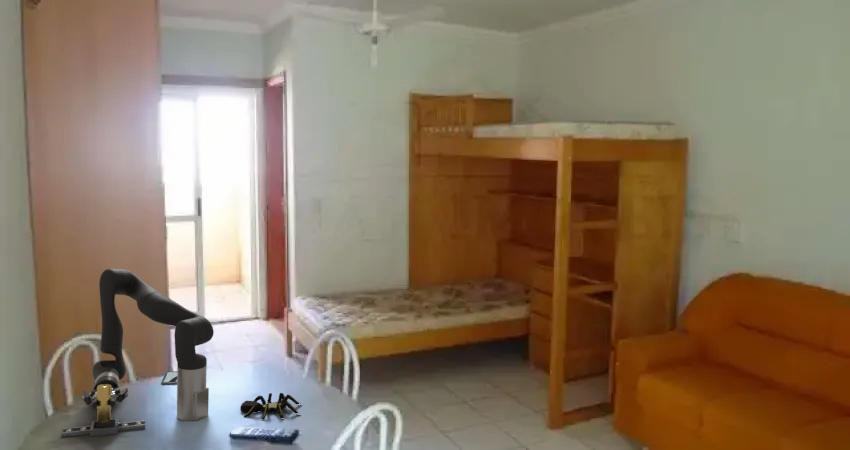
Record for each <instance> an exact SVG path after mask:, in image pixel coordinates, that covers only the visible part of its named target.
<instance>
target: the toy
mask: <svg viewBox="0 0 850 450" xmlns="http://www.w3.org/2000/svg"><path fill="white" fill-rule="evenodd" d="M284 394H285V393H283V392H280V393H279V395H278V400H277V402H272V396H273V394H272V393H270V392H269V393H268V397H267V400H266V399H265V398H264V396H263V395H258V396H257V397H255V399H253V400H244V402H242V403H241V405H240V409H239V410H240V411H241V412H242V413H244V414H245V415H244V416H243V418H248V417H250V415H252V414H254V413H253V412H256V413H259V412H258V411H261V413H263V415H262V417H261V420H262V419H264V420H265V418H266V417H267V414H275V413H277V412H278V415H279V418H280V419H281V418H284V419H285V416H284V414H283V413H284V412H283V410H285V408H286V407H287V408H288V409H289V410H291V411H292V412H293V413H294V414H295V413H299V412H298V410H297V409H296V407H294V406H293V405H292V404H291V403H290V402H289V401H288V400H290V401H292V402H293V403H294V404H295V405H297V404H299V403H300V402H299V401H298V400H296V399H295V398H294V397H293V396H292V395H291V394H286V395H284ZM258 401H261V403H260V402H258ZM267 401H268V402H267ZM272 412H273V413H272ZM247 416H248V417H247Z"/></svg>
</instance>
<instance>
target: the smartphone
mask: <svg viewBox="0 0 850 450" xmlns="http://www.w3.org/2000/svg"><path fill="white" fill-rule="evenodd" d="M160 385H163V386H167V385H169V386H170V385H177V370H176V371H175V370H174V371H166V372H165V373H164V376H163V378H162V380H161V382H160Z"/></svg>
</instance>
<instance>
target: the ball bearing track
mask: <svg viewBox="0 0 850 450" xmlns="http://www.w3.org/2000/svg"><path fill="white" fill-rule="evenodd" d="M104 426H105V427H104ZM143 429H146V420H144V419H143V420H135V421H134V420H133V421H124V422H119V418H111V420H110V421H108V422H103V423H100V422H97V419H96V420H92V421H91V425H85V426H76V427H75V426H74V427H64V428H62V432H61V435H60V436H61V438H67V437H76V436H85V435H86V436H87V435H89V436H90V437H98V436H99V435H100V436H107V435H108V434H109V435H117V434H118V432H123V431H133V430H143ZM100 436H99V437H100Z"/></svg>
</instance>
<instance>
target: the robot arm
mask: <svg viewBox="0 0 850 450" xmlns="http://www.w3.org/2000/svg"><path fill="white" fill-rule="evenodd" d="M98 286H99V298H100V299H99V301H100V310H101V312H100V313H101V335H100V352H101V353H102V354H107V355H111V356H113V357H114V360H113V359H110V360H109V359H107V360H106V359H105V360H103V359H101V360H99V361H96V362H95V363H94V365H93V367H92V377H93V379H94V380H95V381H94V385H93V389H92V390H91V391H90V392H88V391H86V390H85V391H82V392H81V395H82V401H83V402H84V403H85V404H86V405H87V406H89V405H91V408H93V409H96V410H97V386H98V385H101V384H110V385H111V408H113V407H114V406H116V405H117V404H116V403H117V402H118V403H122V402H123V401H125V400H126V398H127V397H128V396H129V388H123V389H120V380H122V379H123V378H124V377H125V375H126V370H127V369H126V364H125V362H124V356H123V355H124V354H123V341H124V340H123V339H124V337H123V336H124V327H123V323H122V320H121V319H120V316H119V314H118V312H117V308H116V304H115V300H116V299H115V298H116V295H118V296H127V297H129V298H131V299H133V300H134V301H136V306H137V309H138V310H139V312H140V313H141V314H143V315H144V316H146V317H147V318H148V319H150V320H152V321H154V322H155V323H159V324H162V325H168V326H173V327H174V328H175V329H174V349H175V350H174V351H175V352H174V353H175V355H174V356H175V360H176V362H177V363H176V364H177V365H176V366H177V368H176V369H177V370H176V371H177V384H176V418H177V419H178V420H181V421H195V422H197V421H198V420H200V419H204V418H205V417H208V416H209V401H210V400H209V398H210V397H209V387H207V363H208V362H207V361H208V359H207V357H206V356H205V355H203V354H200V353H196V347H197V346H200V345H203V344H206V343H208V342H210V341H211V340H212V338H213V337H214V333H215V332H214V327H213V325H212V323H211V321H209V320H208V319H207V318H206V317H204V316H203V315H200V314H198V313H197V312H194V311H192V310H189V309H188V308H185V307H184V306H182V305H181V304H179V303H177V302H176V301H174V300H173V299H172V298H170V297H168V296H167V295H165V294H164V293H162V292H161V291H159V290H157V289H156V288H154V287H152V286H150V285H149V284H147V283H146V282H144V281H143V280H142V279H141V278H140V277H139V276H137V274H135V272H133V271H131V270H128V269H121V268H106V269H105V270H104V271H102V273H101V274H100V278H99V285H98Z"/></svg>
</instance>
